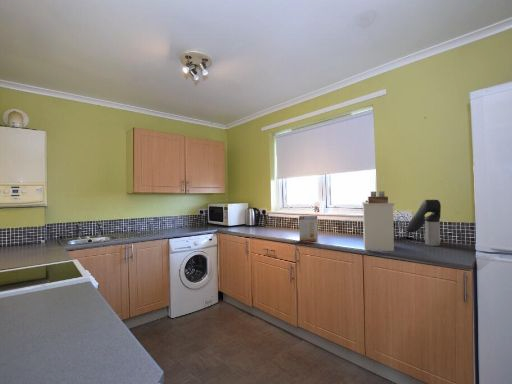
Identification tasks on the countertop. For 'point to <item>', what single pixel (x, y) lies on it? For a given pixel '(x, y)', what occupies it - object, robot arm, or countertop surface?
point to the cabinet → (378, 226)
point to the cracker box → (308, 228)
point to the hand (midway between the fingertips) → (375, 199)
